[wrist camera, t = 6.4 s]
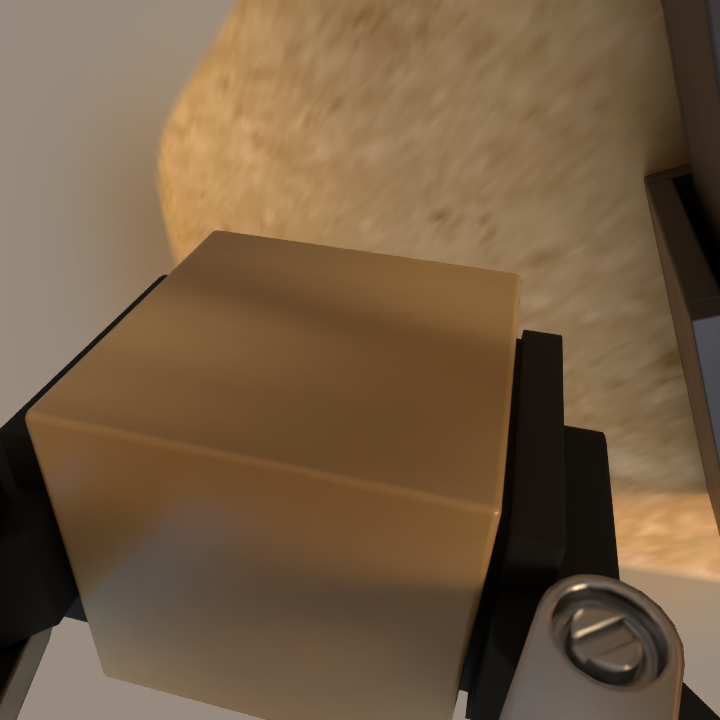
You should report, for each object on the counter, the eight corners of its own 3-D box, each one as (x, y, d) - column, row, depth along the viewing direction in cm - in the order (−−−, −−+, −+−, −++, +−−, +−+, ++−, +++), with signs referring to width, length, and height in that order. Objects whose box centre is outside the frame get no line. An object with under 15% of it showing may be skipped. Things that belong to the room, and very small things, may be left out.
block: (233, 453, 12) (102, 678, 9) (214, 227, 10) (18, 413, 6) (475, 502, 12) (441, 771, 8) (522, 272, 9) (502, 513, 6)
